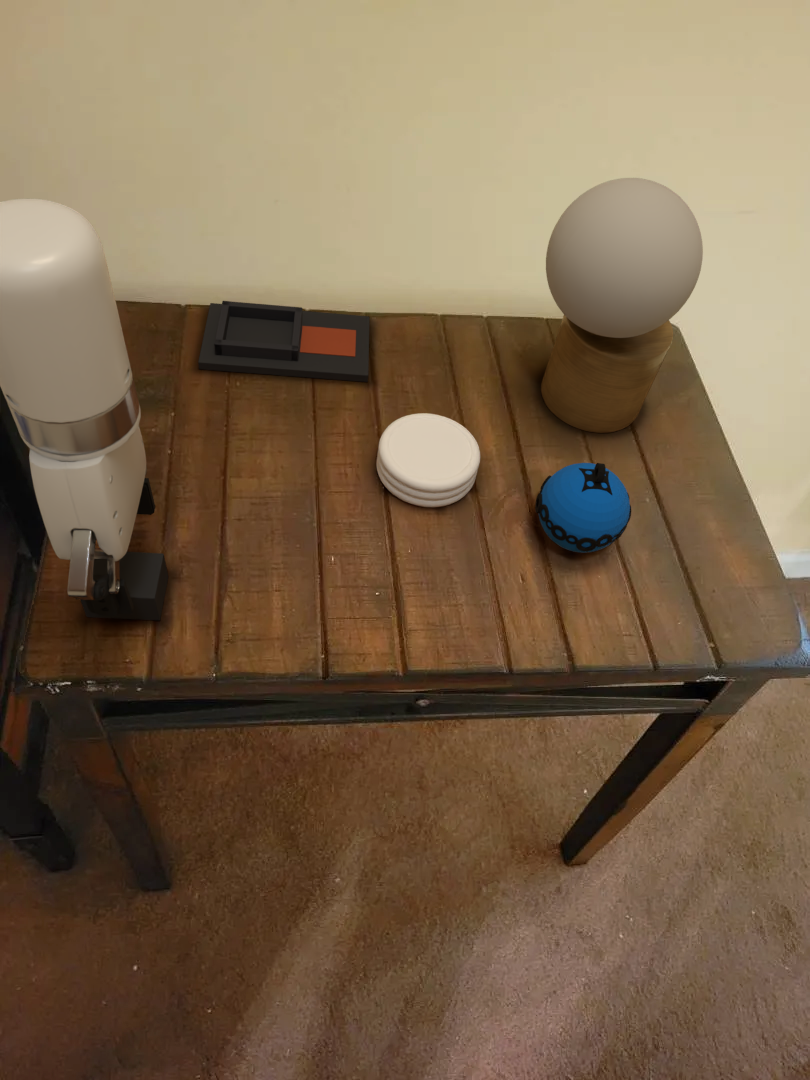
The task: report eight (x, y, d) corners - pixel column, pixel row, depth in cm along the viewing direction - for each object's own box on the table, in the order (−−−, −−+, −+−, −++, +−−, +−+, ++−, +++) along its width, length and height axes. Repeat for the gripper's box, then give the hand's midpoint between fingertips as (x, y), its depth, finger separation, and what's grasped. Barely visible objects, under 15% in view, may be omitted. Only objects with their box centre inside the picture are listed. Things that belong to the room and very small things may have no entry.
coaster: (356, 476, 81) (358, 451, 78) (411, 420, 86) (415, 396, 83) (441, 526, 78) (447, 503, 75) (492, 465, 84) (499, 442, 81)
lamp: (539, 457, 85) (615, 245, 65) (487, 367, 93) (542, 152, 73) (663, 434, 89) (771, 228, 69) (605, 349, 97) (686, 141, 77)
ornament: (619, 575, 77) (657, 509, 69) (529, 566, 77) (557, 498, 69) (609, 505, 82) (643, 435, 74) (525, 496, 82) (550, 425, 74)
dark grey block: (86, 617, 68) (77, 594, 65) (97, 572, 71) (90, 549, 68) (160, 620, 69) (154, 598, 66) (168, 576, 71) (163, 553, 69)
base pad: (198, 369, 87) (196, 351, 85) (210, 309, 93) (209, 291, 91) (367, 382, 89) (369, 364, 87) (368, 323, 95) (370, 305, 93)
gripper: (48, 311, 57) (99, 474, 70) (-28, 505, 46) (49, 653, 60) (159, 318, 57) (188, 479, 71) (108, 511, 47) (154, 656, 61)
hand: (124, 558), depth 65 cm, fingers open, 9 cm apart
